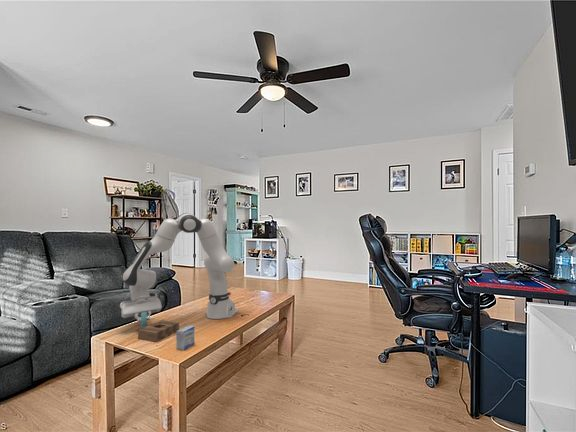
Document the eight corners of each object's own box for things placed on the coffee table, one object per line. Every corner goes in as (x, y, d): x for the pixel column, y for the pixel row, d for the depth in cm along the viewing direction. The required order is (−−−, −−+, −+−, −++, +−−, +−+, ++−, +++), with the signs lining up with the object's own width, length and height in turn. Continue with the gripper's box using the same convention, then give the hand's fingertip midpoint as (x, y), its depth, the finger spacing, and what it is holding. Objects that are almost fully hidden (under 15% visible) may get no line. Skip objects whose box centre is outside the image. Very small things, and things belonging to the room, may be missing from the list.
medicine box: (183, 350, 134) (183, 331, 134) (175, 349, 135) (176, 330, 136) (194, 344, 141) (194, 326, 141) (187, 342, 143) (187, 325, 143)
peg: (143, 329, 160) (144, 311, 160) (147, 330, 159) (148, 312, 159) (139, 331, 157) (139, 313, 157) (143, 332, 156) (143, 313, 156)
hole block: (161, 328, 162) (162, 320, 163) (179, 330, 158) (179, 322, 158) (138, 338, 148) (138, 329, 148) (156, 342, 143) (156, 332, 143)
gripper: (120, 298, 157) (123, 321, 149) (159, 293, 170) (164, 313, 162) (118, 305, 161) (121, 328, 153) (157, 299, 174) (162, 319, 166)
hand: (144, 320), depth 158 cm, fingers closed on peg, 3 cm apart
